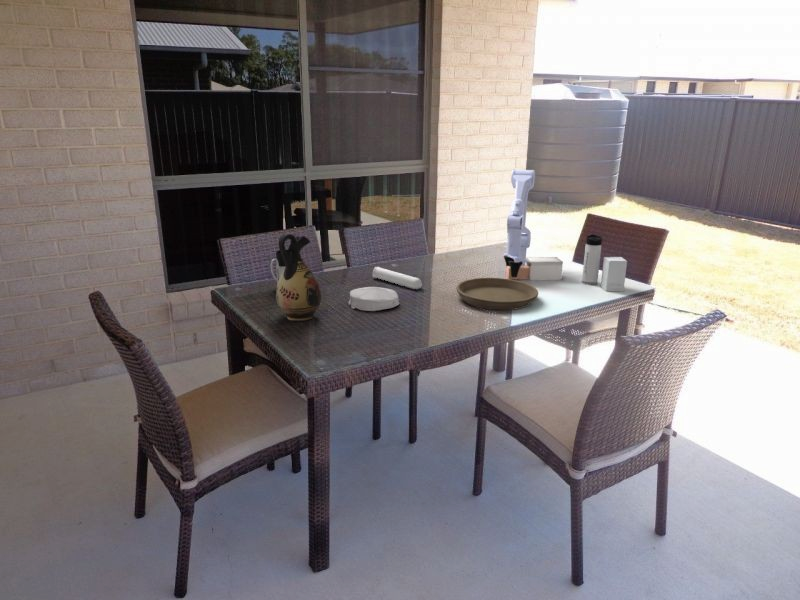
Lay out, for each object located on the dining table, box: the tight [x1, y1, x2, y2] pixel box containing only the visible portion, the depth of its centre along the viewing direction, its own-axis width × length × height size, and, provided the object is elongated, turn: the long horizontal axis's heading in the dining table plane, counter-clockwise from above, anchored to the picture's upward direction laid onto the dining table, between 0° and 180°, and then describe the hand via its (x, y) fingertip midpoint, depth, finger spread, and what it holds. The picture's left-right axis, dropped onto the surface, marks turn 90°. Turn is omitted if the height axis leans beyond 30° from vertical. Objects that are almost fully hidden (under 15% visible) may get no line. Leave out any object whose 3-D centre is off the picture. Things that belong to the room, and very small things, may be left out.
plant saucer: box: [456, 277, 539, 311], centre depth 232 cm, size 31×31×5 cm
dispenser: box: [524, 256, 564, 281], centre depth 261 cm, size 8×15×8 cm, turn 94°
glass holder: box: [270, 249, 291, 284], centre depth 241 cm, size 9×14×15 cm, turn 155°
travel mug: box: [581, 234, 603, 286], centre depth 252 cm, size 6×7×20 cm
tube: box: [372, 266, 422, 290], centre depth 251 cm, size 5×5×25 cm
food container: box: [347, 286, 400, 312], centre depth 226 cm, size 20×20×7 cm
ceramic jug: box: [275, 232, 322, 322], centre depth 207 cm, size 17×15×30 cm
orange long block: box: [505, 266, 530, 280], centre depth 261 cm, size 4×16×5 cm, turn 95°
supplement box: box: [600, 256, 628, 292], centre depth 245 cm, size 7×7×13 cm
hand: (511, 274), depth 261 cm, fingers open, 7 cm apart
